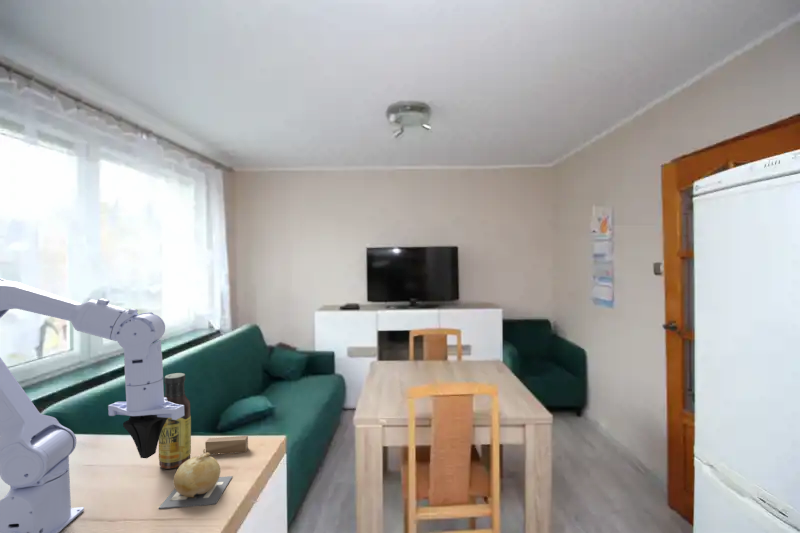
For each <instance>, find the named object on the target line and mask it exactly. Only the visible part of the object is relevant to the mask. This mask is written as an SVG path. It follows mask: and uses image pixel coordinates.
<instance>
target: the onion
mask: <svg viewBox="0 0 800 533" xmlns="http://www.w3.org/2000/svg"><path fill="white" fill-rule="evenodd" d="M220 475H221V467H220V463H219V462H218V461H217V460H216V458H214V457H213V456H212V455H211V454H210V453H208V452H207V453H206V448H205V449H203V450H202V454H200V455H198V456H193V457H190V459H188V460H187V461H185V462H184V463H183V464H181V465H180V467H178V468H177V470H176V471H175V474H174V476H173V486H174V489H176V491H177V492H178V493H179V494H181V495H183V496H185V497H191V498H195V497H194V495H195V494H196V493H197V494H205V493H206V492H208V491H210V490H211V489H212V488H213V487H214V486H215V484H216V483H217V481H218V479H219V477H221V476H220Z"/></svg>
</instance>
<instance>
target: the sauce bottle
mask: <svg viewBox="0 0 800 533" xmlns="http://www.w3.org/2000/svg"><path fill="white" fill-rule="evenodd" d="M185 381H186V374H185V373H182V372H176V373H175V372H173V373H170V374H166V375H165V376H164V377H163V384H164V386H165V388H164V389H165V390H164V397H165V398H167V401H169V402H172V403H175V404H179V405H184V414H185V415H184V416H183V417H181V418H179V419H177V420H172V418H168V419H167V420H166V422H165V424H164V426H163V428H162V431H161V433H160V437H159V440H158V461H159V467H161V468H162V469H163V470H168V469H178V468H179V467H180V465H181V464H183V463H184V462H185V461H187V460H188V459H190V458H191V453H192V416H191V401H190V400H189V399H188V398H187V395H186V393H185V392H186V391H185Z"/></svg>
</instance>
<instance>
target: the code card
mask: <svg viewBox="0 0 800 533" xmlns="http://www.w3.org/2000/svg"><path fill="white" fill-rule="evenodd" d="M232 478H233V475H229V476H219V479H218V481H217V483H216V484H215V486H214V487H213V488H212V489H211V490H210V491H208V492H206V493H205V494H197V493H196V494H195V495H194V497H195V498H191V497H185V496H183V495H181V494H179V493H178V492H177V491H176V489H175V488H174V489H173V490H172V491H171V492H170V493H169V495H167V497H166V498H165V500H163V502H162V503H161V505H160V506H159V507H158V509H159V510H161V509H173V508H186V507H198V506H199V507H200V506H210V505H211V506H212V505H216V504H217V503H218V501H219V500H220V498H221V496H223V495H222V494H223V493H224V492H225V490H226V488H227V487H226V486H228V485H229V484H230V482H231V480H232Z"/></svg>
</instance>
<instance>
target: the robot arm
mask: <svg viewBox="0 0 800 533" xmlns="http://www.w3.org/2000/svg"><path fill="white" fill-rule="evenodd" d="M14 309H15V310H16V309H18V310H21V311H26V312H30V313H34V314H39V315H43V316H47V317H51V318H57V319H60V320H64V321H69V322H70V323H71V325H72V326H73V328H74V330H76V331H77V332H81V333H85V334H88V335H91V336H95V337H98V338H103V339H106V340H110V341H113V342H117V344H118V345H119V346H120V347H122V349H123V355H124V359H123V361H124V362H123V363H124V379H125V380H124V381H125V384H124V386H125V387H124V388H125V400H126V401H115V402H114V403H111V404H108V405H107V409H108V410H107V411H108V416H109V417H115V416H116V415H118V416H119V415H120V416H128V417H129V418H128V420H125V421H123V423H122V425H123V426H122V427H123V428H124V430H126V431H127V432H128V433H129V435H130V436H131V438H132V440H133V443H134V444H135V446H136V449H137V452H138V454H139V457H140V459H148V458H150V457H151V456H153V455H155V454H156V452H157V448H158V445H159V437H160V433H161V431H162V428H163V426H164V424H165V422H166V420H167V419H168V418H172V420H177V419H179V418H181V417H183V416H184V415H185V414H184V405H179V404H175V403H172V402H169V401H167V398H165V390H164V389H165V388H164V368H163V365H164V364H163V352H162V340H161V338H162V337H163V336H164V335H165V331H166V324H165V321H164V320H163V318H161V317H160V316H159V315H157V314H155V313H154V312H152V311H151V312H150V311H146V312H141V313H140V314H139V312H138V311H139V310H138V309H136V308H133V307H132V308H130V309H127V308H124V307H121V306H118V305H113V304H110V300H109V299H105V298H98V299H97V300H96V299H90V300H87V301H84V302H82V303H81V302H78V301H75V300H72V299H69V298H67V297H63V296H59V295H57V294H54V293H51V292H47V291H46V290H42V289H39V288H35V287H33V286H30V285H27V284H24V283H22V282H19V281H13V280H6V279H4V278H1V277H0V319H2V317H4V316H5V315H6V313H8V312H9V310H14ZM76 447H77V436H76V435H75V433H74V432H73V431H72V430H71V429H70V428H68V427H66V426H64V425H62V424H61V423H60V422H59V420H58V419H57V418H56V417H54V416H52V415H51V416H50V415H46V414H43V413H41V412H40V411H39V410H38V408H37V407H36V406H35V405H34V402H33V401H32V400H31V399H30V397H29V396H28V394H27V393H26V391H25V389H23V387H22V386H21V384H20V383H19V382H18V381H17V379H16V377H15V376H14V375H13V373H12V371H11V370H10V368H8V366H7V365H6V363H5V362H4V360H3V359H2V357H0V479H1V480H2V481H3V482H4V483H5V484H7V485H8V486H10V489H9V490H8V492H7V493H6V494H5V496H4V497H3V498H1V500H0V533H60V532H61V531H62V530H63V529H64V528H65V527H67V526H68V525H69V524H70V523H71V522H72V521H74V520H75V519H76V517H78V516H79V515H80V514H82V512H84V511H85V507H84V506H81V507H79V506H78V507H72V501H71V481H70V480H71V479H70V478H71V477H70V457H69V456H70V455H72V453H73V452H74V451H75V449H76Z"/></svg>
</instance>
